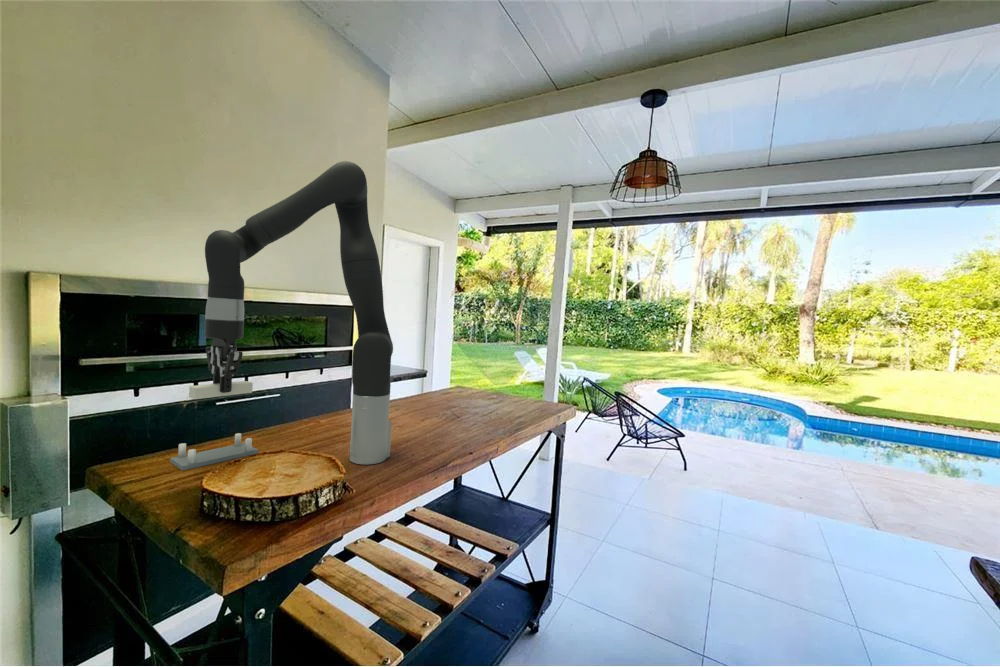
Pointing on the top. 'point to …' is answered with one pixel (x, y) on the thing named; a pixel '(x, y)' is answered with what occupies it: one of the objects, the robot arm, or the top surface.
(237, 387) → the clay strip
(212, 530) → the top surface
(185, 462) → the grey pegged tray
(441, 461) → the top surface
